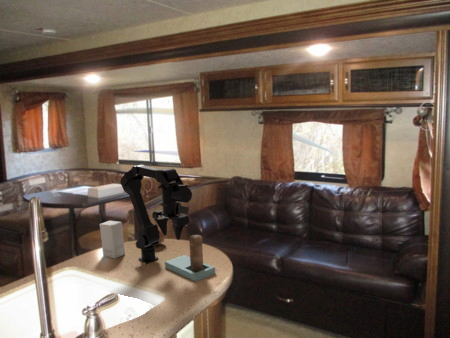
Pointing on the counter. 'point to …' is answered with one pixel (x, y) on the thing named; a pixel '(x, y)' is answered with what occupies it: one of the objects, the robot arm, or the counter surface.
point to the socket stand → (188, 268)
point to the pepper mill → (196, 253)
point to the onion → (161, 236)
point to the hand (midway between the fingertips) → (171, 237)
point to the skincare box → (112, 239)
